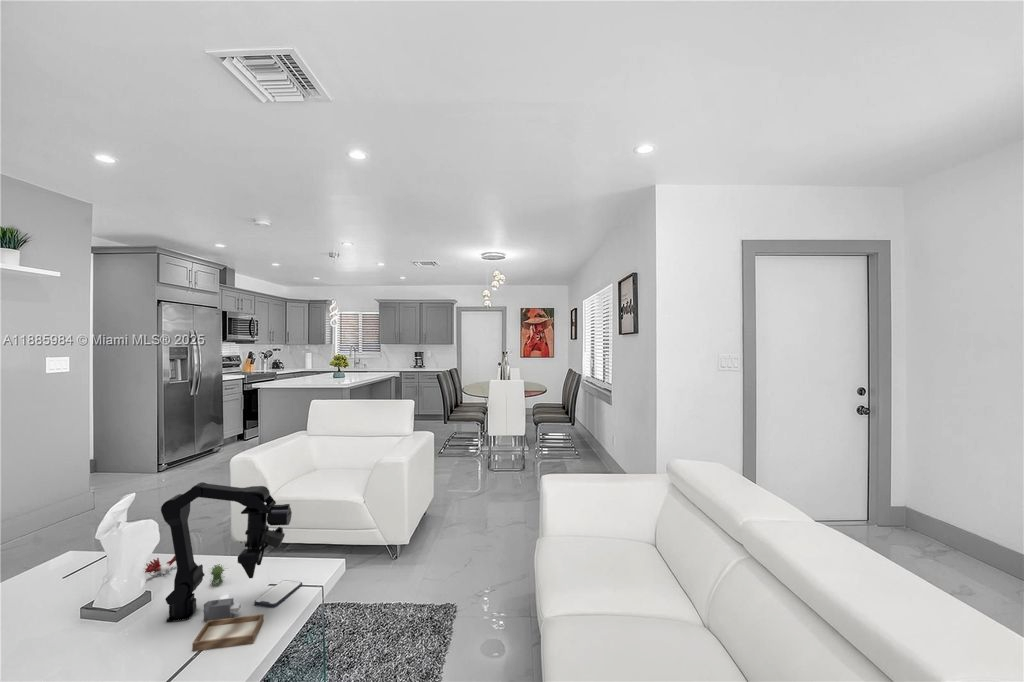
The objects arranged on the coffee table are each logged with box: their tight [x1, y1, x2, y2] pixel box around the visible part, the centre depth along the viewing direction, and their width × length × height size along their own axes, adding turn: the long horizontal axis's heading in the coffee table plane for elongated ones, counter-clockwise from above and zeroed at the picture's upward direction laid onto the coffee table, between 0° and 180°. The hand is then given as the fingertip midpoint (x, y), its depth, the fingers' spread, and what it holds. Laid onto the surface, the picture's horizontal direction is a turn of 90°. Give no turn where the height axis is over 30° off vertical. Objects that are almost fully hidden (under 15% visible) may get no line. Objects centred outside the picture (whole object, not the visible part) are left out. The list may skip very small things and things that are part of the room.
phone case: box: [253, 579, 303, 609], centre depth 168 cm, size 9×2×16 cm
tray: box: [191, 614, 265, 652], centre depth 145 cm, size 16×11×2 cm
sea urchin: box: [203, 562, 232, 588], centre depth 174 cm, size 12×12×8 cm
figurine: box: [144, 555, 176, 578], centre depth 182 cm, size 15×12×7 cm
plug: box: [203, 597, 242, 623], centre depth 154 cm, size 10×4×5 cm, turn 104°
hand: (255, 571), depth 159 cm, fingers open, 9 cm apart
